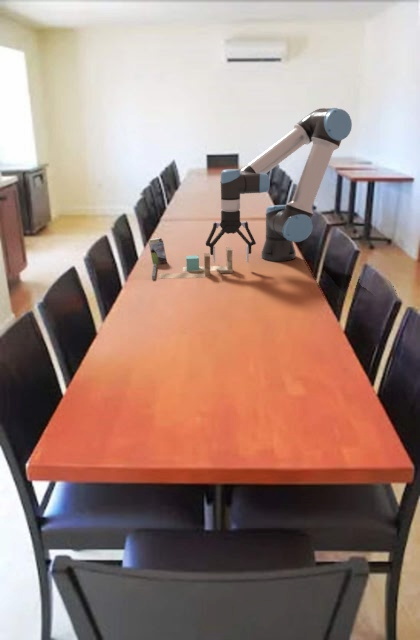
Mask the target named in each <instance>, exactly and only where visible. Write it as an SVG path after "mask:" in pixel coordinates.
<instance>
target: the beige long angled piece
mask: <svg viewBox="0 0 420 640" xmlns="http://www.w3.org/2000/svg"><path fill="white" fill-rule="evenodd" d="M225 249H226V254H225V255H226V256H225V257H226V265H213V266H212V265H210V272H217V271H219V274H225V273H226V274H230V273H232V274H233V249H232V247H230V246H229V247H226V248H225ZM197 272H205V265H204V266H199V270H198V271H197ZM182 273H192V271H187V266H183V267H182Z"/></svg>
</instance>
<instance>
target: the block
mask: <svg viewBox="0 0 420 640" xmlns="http://www.w3.org/2000/svg"><path fill="white" fill-rule="evenodd" d="M185 257H186V260H185V261H186V267H187V271H191V272H199V271H198V270H199V267H200V258H199V255H198V254H197V255H186V256H185Z"/></svg>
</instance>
